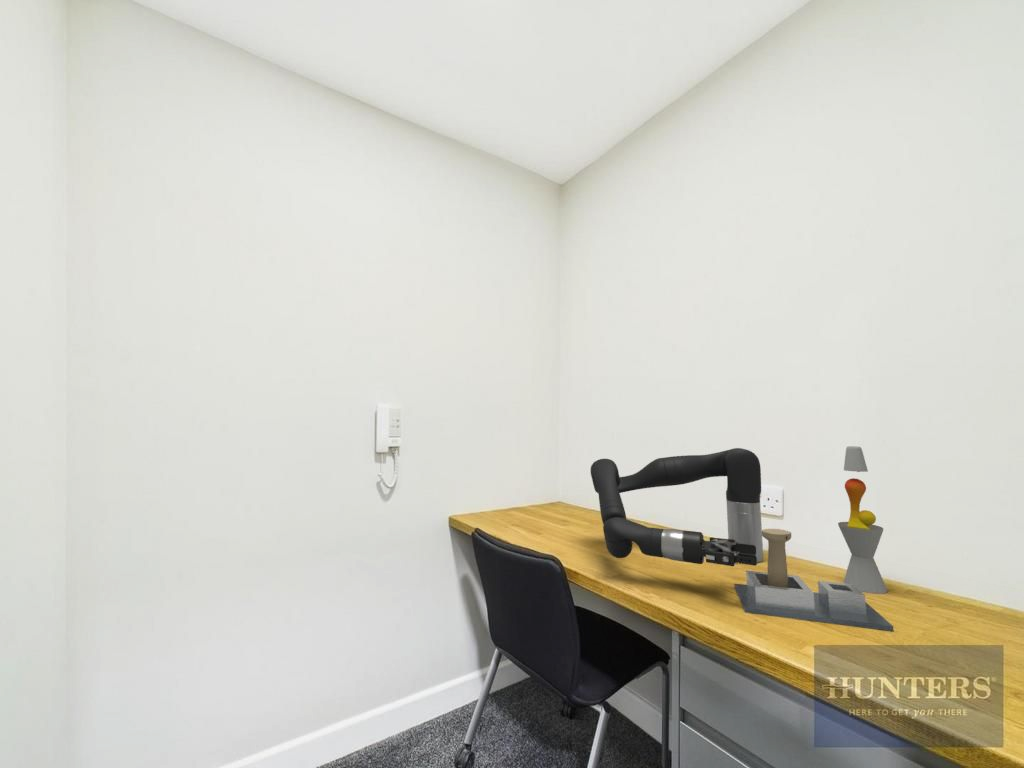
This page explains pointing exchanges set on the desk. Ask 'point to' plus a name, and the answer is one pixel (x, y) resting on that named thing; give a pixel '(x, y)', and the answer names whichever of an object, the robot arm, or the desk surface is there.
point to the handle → (777, 556)
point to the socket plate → (809, 602)
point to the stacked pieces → (860, 531)
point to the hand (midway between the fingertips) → (756, 555)
